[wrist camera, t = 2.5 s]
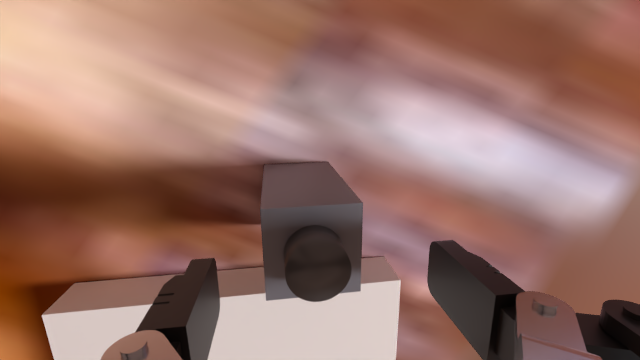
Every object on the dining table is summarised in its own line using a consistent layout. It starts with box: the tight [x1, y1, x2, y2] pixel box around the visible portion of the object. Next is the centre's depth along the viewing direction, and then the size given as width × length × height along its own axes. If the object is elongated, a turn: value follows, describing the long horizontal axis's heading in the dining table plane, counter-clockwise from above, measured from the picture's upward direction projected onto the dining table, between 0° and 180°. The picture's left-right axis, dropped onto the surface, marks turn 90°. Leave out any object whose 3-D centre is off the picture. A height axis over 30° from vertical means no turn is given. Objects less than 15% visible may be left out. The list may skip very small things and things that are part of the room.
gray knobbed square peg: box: [260, 162, 363, 302], centre depth 16 cm, size 4×4×10 cm
